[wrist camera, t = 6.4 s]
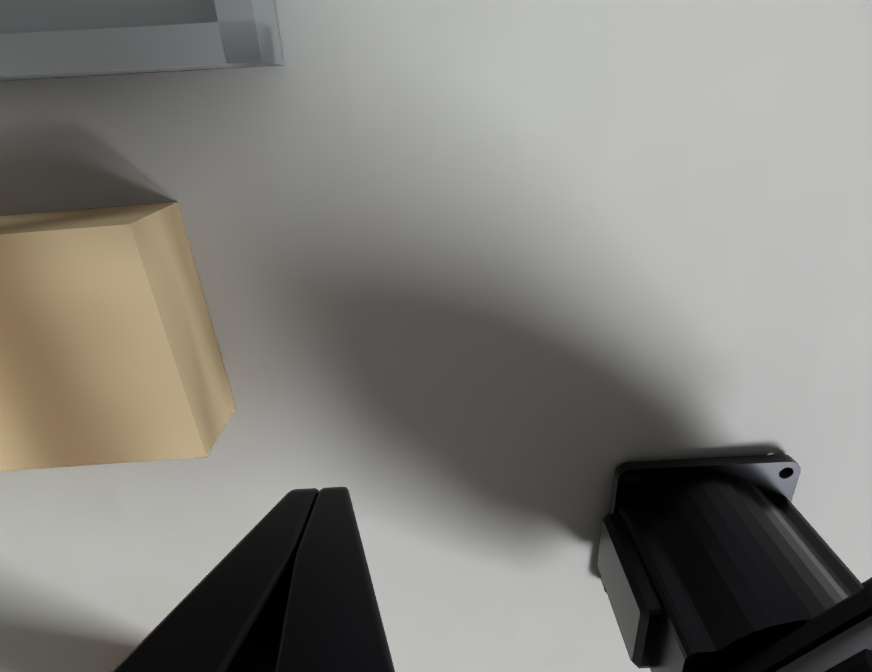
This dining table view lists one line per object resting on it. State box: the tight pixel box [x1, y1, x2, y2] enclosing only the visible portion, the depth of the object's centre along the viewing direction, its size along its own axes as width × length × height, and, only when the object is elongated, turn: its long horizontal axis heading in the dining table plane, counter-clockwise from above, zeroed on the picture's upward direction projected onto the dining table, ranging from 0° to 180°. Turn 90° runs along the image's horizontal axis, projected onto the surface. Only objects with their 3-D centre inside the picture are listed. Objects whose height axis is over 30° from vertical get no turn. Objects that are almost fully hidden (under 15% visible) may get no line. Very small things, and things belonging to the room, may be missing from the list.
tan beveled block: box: [0, 202, 236, 471], centre depth 16 cm, size 7×7×3 cm
